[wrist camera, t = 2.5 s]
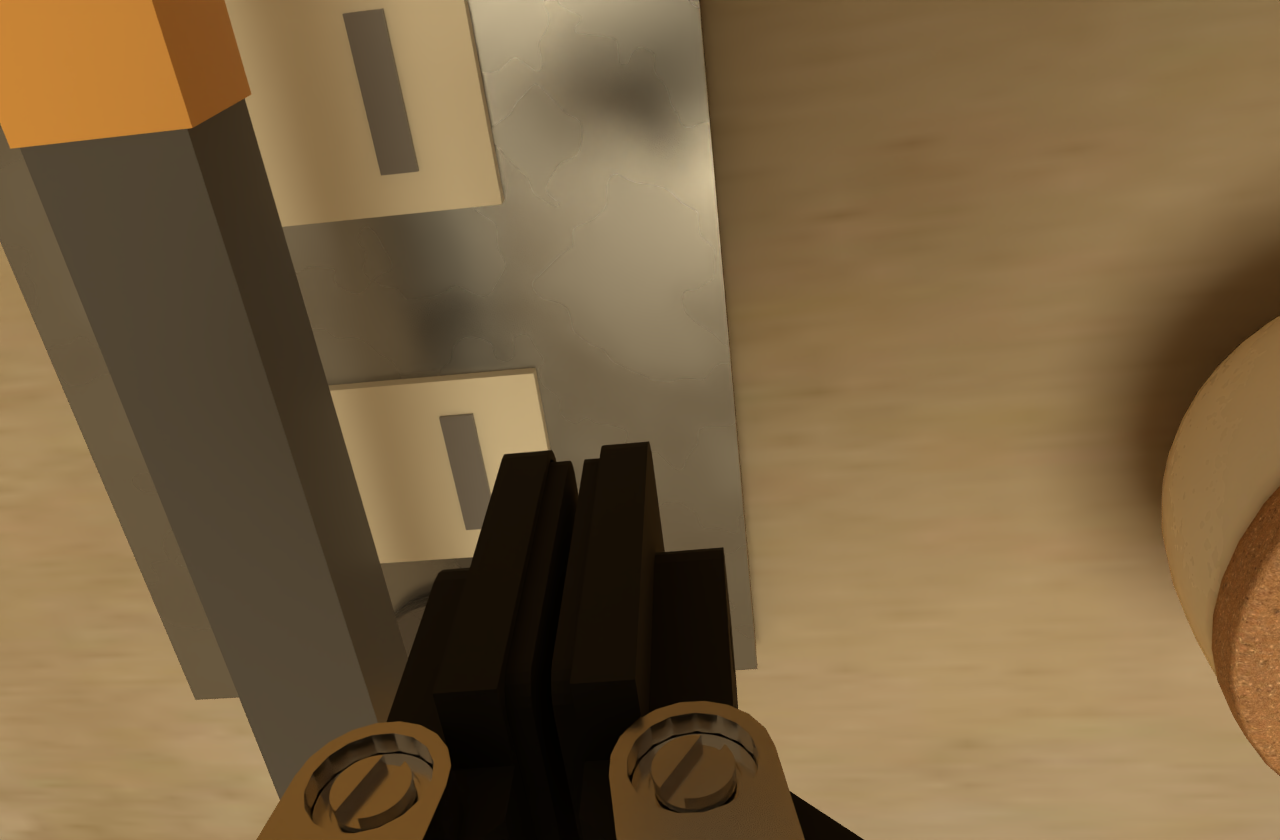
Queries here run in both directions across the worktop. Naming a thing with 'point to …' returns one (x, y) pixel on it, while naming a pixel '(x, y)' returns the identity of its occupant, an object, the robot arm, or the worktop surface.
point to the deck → (494, 293)
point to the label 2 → (435, 454)
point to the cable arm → (208, 348)
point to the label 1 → (367, 107)
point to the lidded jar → (1233, 531)
